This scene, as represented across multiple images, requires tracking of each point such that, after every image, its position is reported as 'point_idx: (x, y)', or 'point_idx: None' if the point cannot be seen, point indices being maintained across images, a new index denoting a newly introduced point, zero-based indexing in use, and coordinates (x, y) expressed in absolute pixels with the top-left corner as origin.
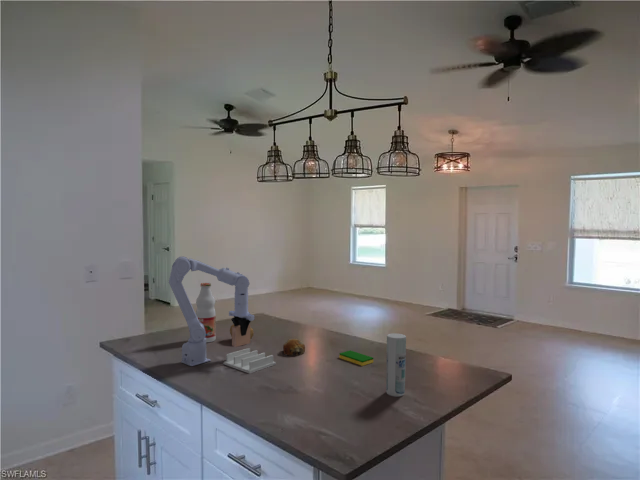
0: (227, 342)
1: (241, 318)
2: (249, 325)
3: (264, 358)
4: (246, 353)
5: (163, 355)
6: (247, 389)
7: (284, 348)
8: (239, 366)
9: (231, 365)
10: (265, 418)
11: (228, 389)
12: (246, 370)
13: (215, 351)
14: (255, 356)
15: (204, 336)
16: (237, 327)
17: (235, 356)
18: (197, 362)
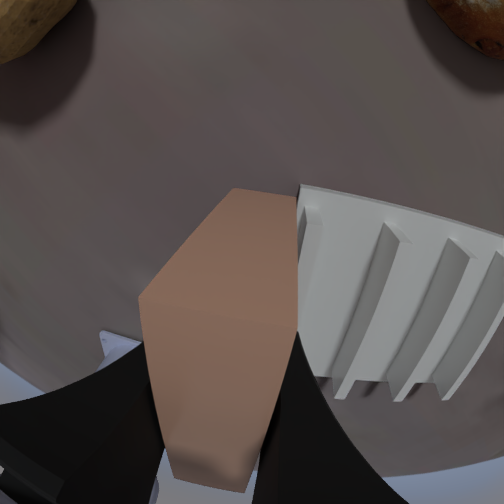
0: (14, 84)
1: (99, 501)
2: (290, 340)
3: (493, 331)
4: (373, 334)
5: (33, 349)
6: (458, 429)
7: (479, 33)
8: (376, 375)
9: (325, 373)
10: (500, 448)
11: (414, 449)
12: (421, 380)
13: (69, 229)
14: (442, 333)
15: (157, 490)
16: (239, 483)
17: (341, 393)
18: None
